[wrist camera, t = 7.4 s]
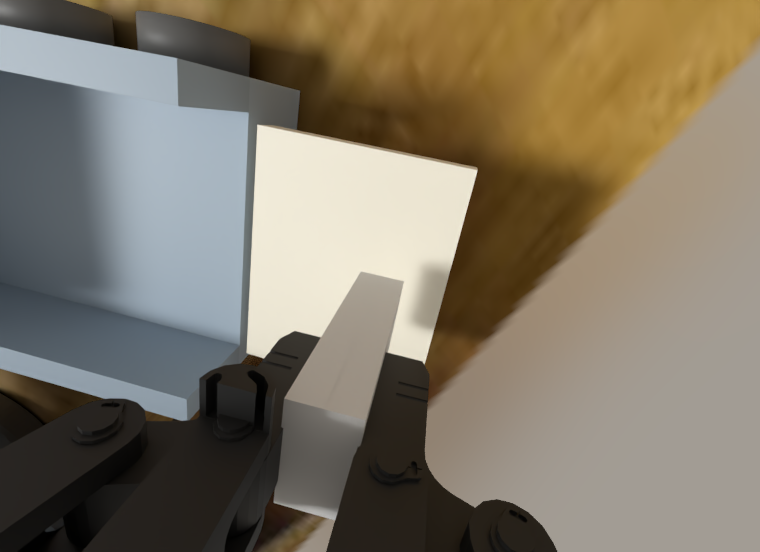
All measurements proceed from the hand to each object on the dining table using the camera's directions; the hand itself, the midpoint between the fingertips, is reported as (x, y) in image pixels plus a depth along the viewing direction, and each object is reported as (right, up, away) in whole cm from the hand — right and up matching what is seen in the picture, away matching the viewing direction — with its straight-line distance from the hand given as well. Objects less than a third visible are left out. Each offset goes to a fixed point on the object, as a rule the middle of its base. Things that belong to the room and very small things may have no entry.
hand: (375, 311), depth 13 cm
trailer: (-8, +5, +8) cm, 13 cm away
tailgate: (-5, +2, +3) cm, 6 cm away
